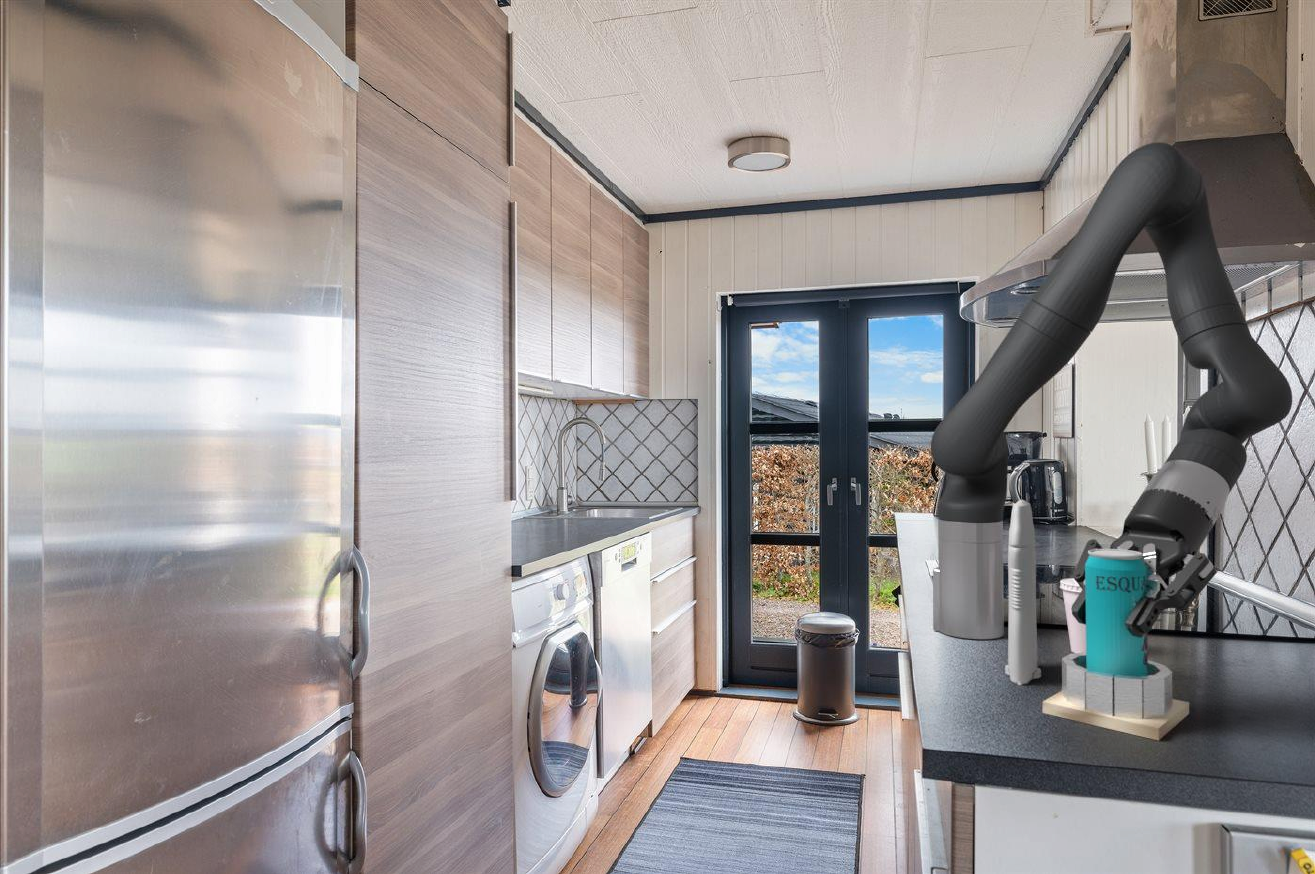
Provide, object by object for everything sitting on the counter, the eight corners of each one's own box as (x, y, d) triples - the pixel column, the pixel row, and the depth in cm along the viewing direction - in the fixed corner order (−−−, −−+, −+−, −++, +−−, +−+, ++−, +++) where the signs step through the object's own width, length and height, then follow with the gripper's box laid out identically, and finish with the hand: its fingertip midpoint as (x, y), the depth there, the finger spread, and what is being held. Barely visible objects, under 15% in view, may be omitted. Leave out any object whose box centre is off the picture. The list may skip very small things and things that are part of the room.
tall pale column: (1036, 688, 94) (1034, 503, 94) (999, 683, 97) (997, 502, 97) (1045, 666, 103) (1043, 497, 104) (1010, 661, 106) (1009, 496, 106)
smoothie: (1118, 651, 110) (1117, 550, 110) (1105, 660, 106) (1104, 555, 106) (1068, 643, 115) (1067, 546, 115) (1054, 652, 110) (1053, 551, 110)
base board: (1042, 712, 86) (1042, 701, 86) (1079, 690, 94) (1079, 680, 94) (1158, 740, 78) (1158, 728, 78) (1189, 713, 86) (1189, 702, 86)
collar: (1049, 701, 86) (1048, 664, 86) (1082, 681, 93) (1082, 647, 93) (1154, 725, 79) (1154, 685, 79) (1182, 702, 86) (1182, 665, 86)
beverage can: (1147, 702, 82) (1146, 557, 82) (1084, 693, 85) (1082, 553, 85) (1148, 687, 87) (1146, 550, 87) (1088, 679, 90) (1086, 547, 90)
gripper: (1102, 483, 95) (1030, 591, 91) (1228, 490, 82) (1152, 617, 78) (1133, 525, 98) (1064, 632, 93) (1261, 538, 84) (1188, 664, 80)
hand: (1105, 625), depth 85 cm, fingers closed on beverage can, 5 cm apart
